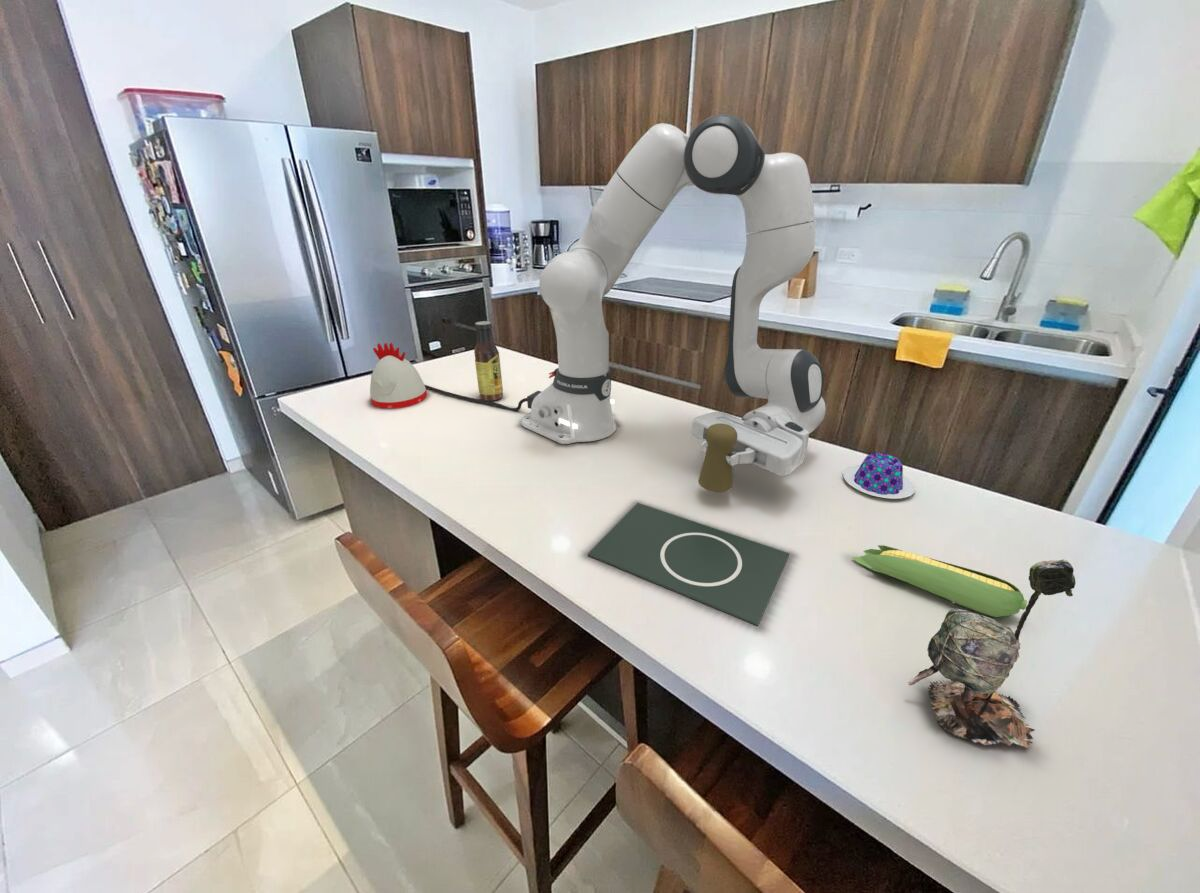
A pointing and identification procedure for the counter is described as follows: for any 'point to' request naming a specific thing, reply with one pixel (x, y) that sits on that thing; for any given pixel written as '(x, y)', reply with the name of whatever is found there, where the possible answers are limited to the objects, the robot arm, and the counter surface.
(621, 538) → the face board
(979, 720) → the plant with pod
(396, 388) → the grey and red dome
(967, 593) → the edible corn
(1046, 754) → the counter surface
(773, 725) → the counter surface
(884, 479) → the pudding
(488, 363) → the sauce bottle
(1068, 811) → the counter surface
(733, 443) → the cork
